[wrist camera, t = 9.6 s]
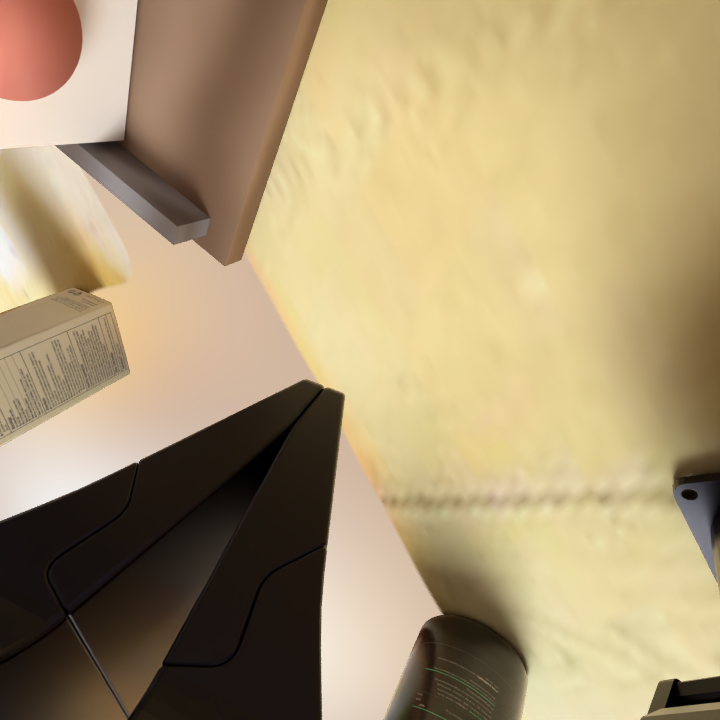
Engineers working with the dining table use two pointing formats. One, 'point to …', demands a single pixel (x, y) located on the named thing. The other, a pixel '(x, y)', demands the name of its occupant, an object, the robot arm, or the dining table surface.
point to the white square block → (64, 71)
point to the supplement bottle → (459, 675)
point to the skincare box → (55, 357)
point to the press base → (205, 115)
